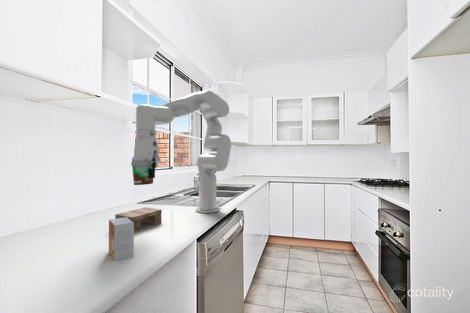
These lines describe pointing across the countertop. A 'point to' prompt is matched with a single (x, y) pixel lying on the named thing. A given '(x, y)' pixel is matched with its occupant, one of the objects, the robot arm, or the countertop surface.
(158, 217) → the bridge shelf
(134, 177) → the food container
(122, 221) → the small box
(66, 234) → the countertop surface
